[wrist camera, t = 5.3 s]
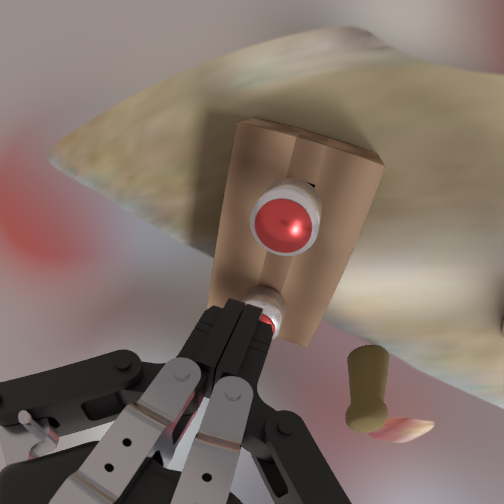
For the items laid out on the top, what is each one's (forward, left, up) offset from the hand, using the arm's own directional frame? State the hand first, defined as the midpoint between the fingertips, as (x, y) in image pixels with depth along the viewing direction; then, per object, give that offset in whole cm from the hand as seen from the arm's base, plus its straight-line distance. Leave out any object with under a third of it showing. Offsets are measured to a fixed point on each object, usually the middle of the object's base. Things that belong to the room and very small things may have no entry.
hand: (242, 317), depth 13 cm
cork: (-16, +20, -19) cm, 32 cm away
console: (0, +5, -19) cm, 20 cm away
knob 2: (0, -1, -14) cm, 14 cm away
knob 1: (0, +11, -17) cm, 20 cm away
